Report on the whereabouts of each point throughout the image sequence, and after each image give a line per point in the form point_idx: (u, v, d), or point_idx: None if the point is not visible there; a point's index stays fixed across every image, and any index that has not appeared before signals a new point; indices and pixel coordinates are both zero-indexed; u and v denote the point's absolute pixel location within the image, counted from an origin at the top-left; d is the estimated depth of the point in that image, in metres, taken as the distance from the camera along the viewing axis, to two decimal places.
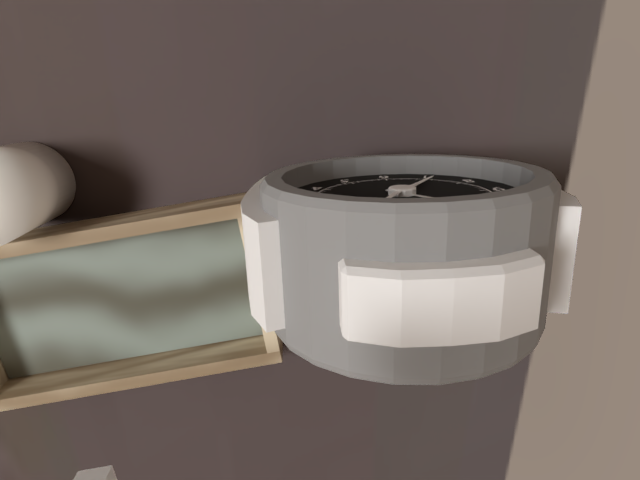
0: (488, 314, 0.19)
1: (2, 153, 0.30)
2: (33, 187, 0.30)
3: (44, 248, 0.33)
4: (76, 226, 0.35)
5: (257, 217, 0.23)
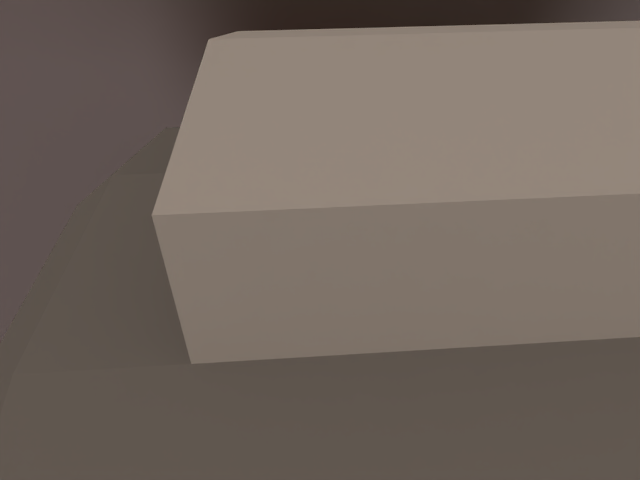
0: None
1: None
2: None
3: None
4: None
5: None
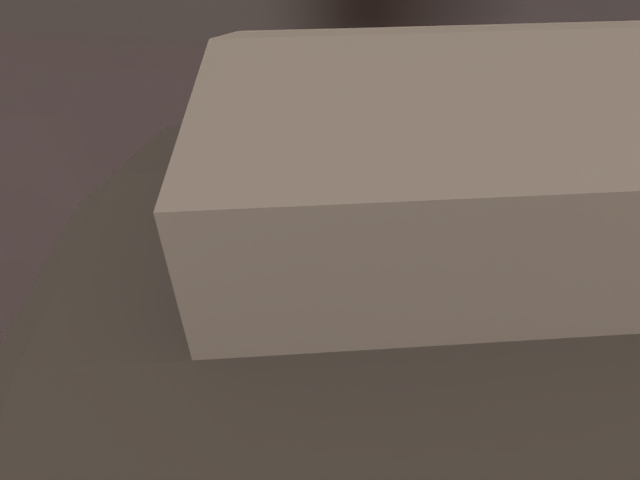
0: None
1: None
2: None
3: None
4: None
5: None
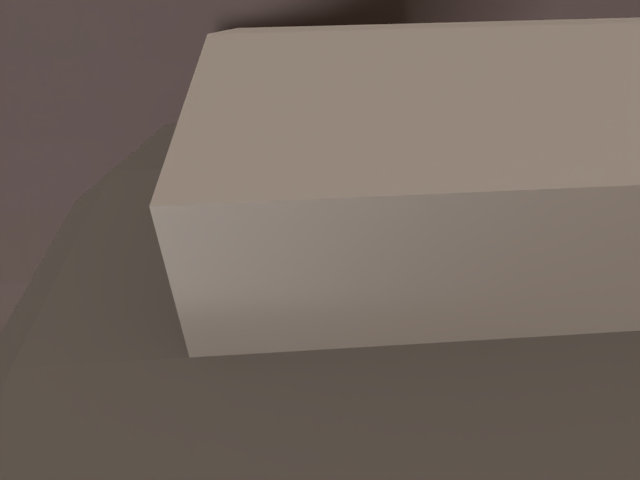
0: None
1: None
2: None
3: None
4: None
5: None
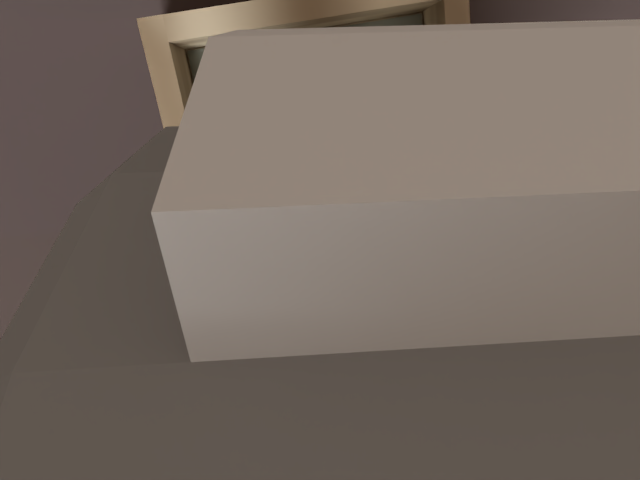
0: None
1: None
2: None
3: None
4: None
5: None
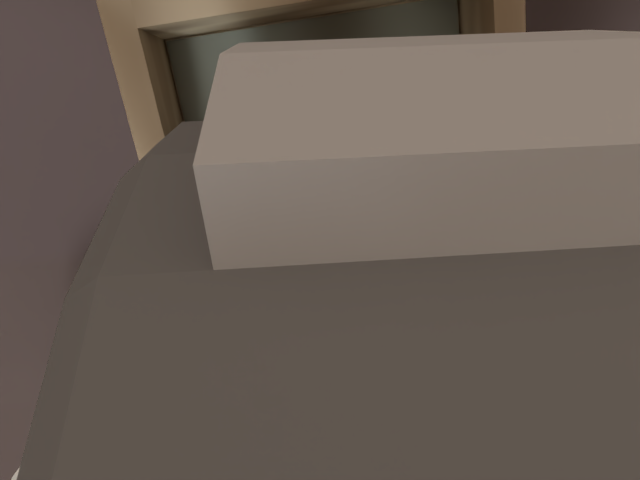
0: None
1: None
2: None
3: None
4: None
5: None
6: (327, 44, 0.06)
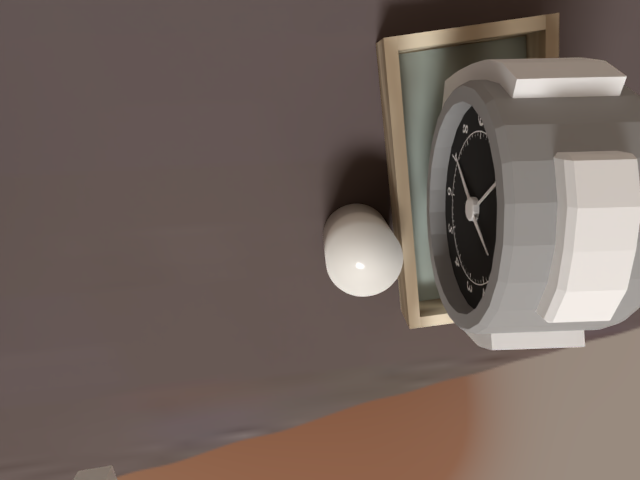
0: (612, 219, 0.21)
1: (328, 239, 0.38)
2: (356, 220, 0.37)
3: (410, 226, 0.39)
4: (394, 203, 0.40)
5: (485, 343, 0.29)
6: (517, 60, 0.27)
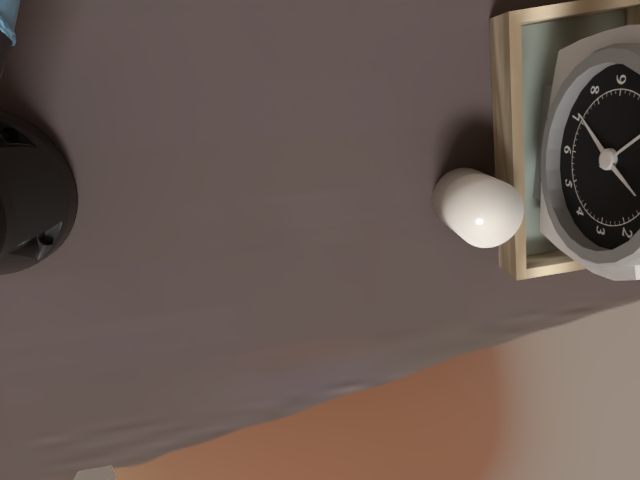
0: None
1: (453, 197, 0.42)
2: (480, 178, 0.41)
3: (522, 185, 0.43)
4: (504, 165, 0.44)
5: (626, 276, 0.34)
6: None
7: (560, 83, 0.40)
